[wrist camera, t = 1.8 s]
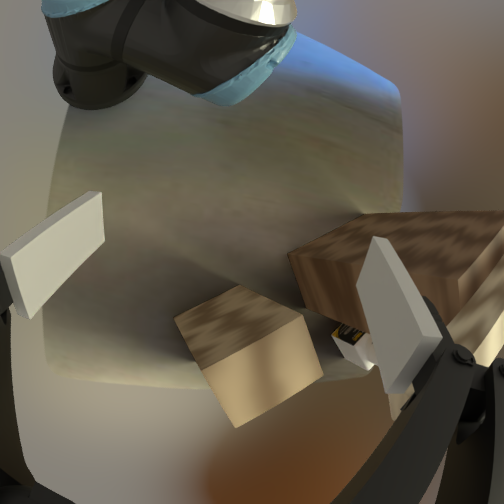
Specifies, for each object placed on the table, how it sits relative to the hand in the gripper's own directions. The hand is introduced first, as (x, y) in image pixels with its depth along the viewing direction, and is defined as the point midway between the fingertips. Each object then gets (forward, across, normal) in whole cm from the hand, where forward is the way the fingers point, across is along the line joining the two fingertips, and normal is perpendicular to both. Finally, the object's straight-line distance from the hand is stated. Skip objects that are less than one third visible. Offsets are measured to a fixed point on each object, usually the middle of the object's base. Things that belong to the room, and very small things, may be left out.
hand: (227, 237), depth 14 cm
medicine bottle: (+30, +21, -31) cm, 48 cm away
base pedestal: (+21, -3, -25) cm, 33 cm away
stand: (+34, +15, -18) cm, 42 cm away
